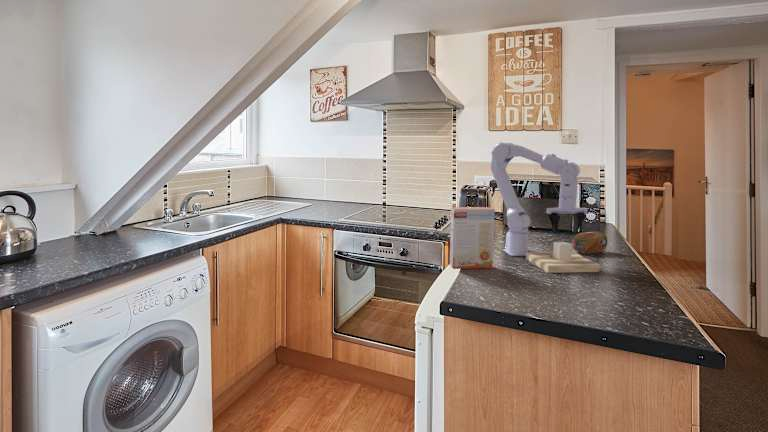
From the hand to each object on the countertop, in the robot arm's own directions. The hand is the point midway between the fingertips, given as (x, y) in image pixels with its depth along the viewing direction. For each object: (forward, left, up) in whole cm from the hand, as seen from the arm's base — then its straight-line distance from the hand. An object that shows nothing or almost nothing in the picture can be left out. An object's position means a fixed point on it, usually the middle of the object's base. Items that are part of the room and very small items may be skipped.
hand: (565, 233), depth 155 cm
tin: (-12, +17, -11) cm, 23 cm away
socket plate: (+6, -4, -10) cm, 13 cm away
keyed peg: (+6, -4, -10) cm, 13 cm away
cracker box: (+7, -37, -11) cm, 39 cm away
